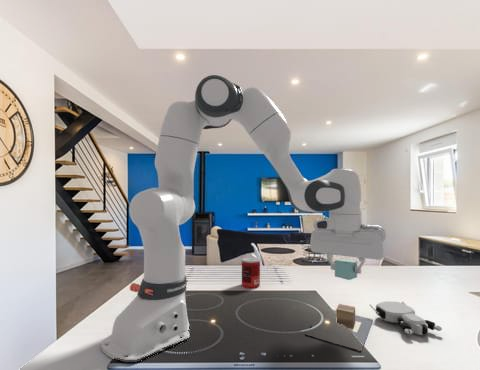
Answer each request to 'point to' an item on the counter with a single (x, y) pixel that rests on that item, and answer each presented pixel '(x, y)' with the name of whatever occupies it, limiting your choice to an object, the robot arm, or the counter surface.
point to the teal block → (345, 269)
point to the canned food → (250, 272)
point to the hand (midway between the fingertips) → (345, 271)
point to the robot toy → (404, 317)
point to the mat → (361, 327)
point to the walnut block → (345, 315)
